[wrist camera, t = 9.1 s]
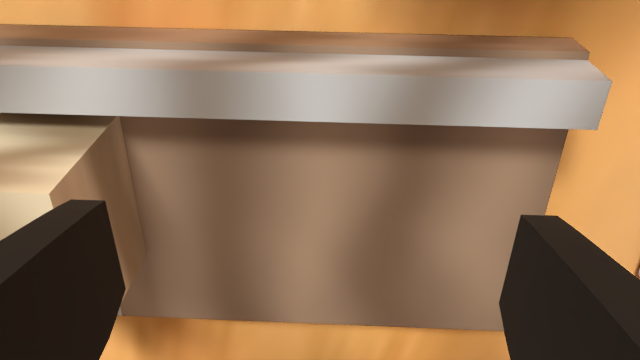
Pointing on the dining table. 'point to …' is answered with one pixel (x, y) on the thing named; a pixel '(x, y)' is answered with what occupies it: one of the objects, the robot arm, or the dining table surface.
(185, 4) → the dining table surface
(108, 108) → the marking board
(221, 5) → the dining table surface
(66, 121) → the block
